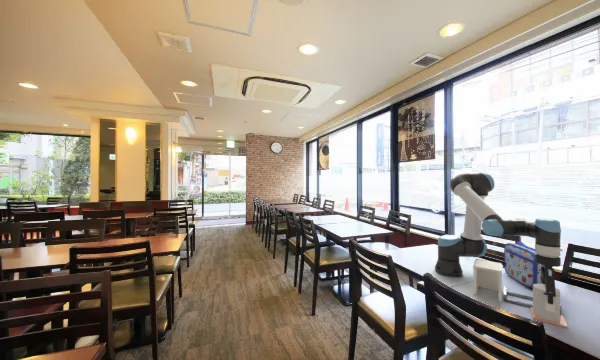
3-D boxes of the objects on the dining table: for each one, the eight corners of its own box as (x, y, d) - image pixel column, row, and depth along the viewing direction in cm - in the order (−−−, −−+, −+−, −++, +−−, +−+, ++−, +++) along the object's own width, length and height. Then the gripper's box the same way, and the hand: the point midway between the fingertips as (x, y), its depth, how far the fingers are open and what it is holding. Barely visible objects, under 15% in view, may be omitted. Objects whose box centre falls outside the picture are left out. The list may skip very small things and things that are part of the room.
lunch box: (499, 272, 151) (499, 238, 151) (517, 273, 149) (517, 238, 149) (532, 292, 124) (531, 250, 124) (555, 293, 122) (555, 251, 122)
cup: (563, 323, 96) (563, 294, 96) (536, 317, 100) (536, 289, 100) (555, 313, 102) (556, 286, 102) (530, 308, 107) (530, 282, 107)
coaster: (532, 318, 100) (532, 316, 100) (530, 308, 108) (530, 307, 108) (567, 328, 94) (567, 326, 94) (562, 317, 101) (562, 315, 101)
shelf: (473, 294, 122) (473, 265, 122) (475, 284, 133) (475, 258, 133) (501, 301, 114) (501, 271, 114) (501, 291, 125) (501, 263, 125)
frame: (503, 300, 115) (503, 292, 115) (503, 292, 123) (503, 284, 123) (561, 315, 103) (561, 305, 103) (556, 304, 111) (556, 296, 111)
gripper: (566, 264, 89) (566, 320, 89) (555, 250, 108) (555, 296, 108) (538, 260, 94) (538, 313, 94) (532, 247, 113) (532, 291, 113)
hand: (547, 304), depth 101 cm, fingers open, 12 cm apart
